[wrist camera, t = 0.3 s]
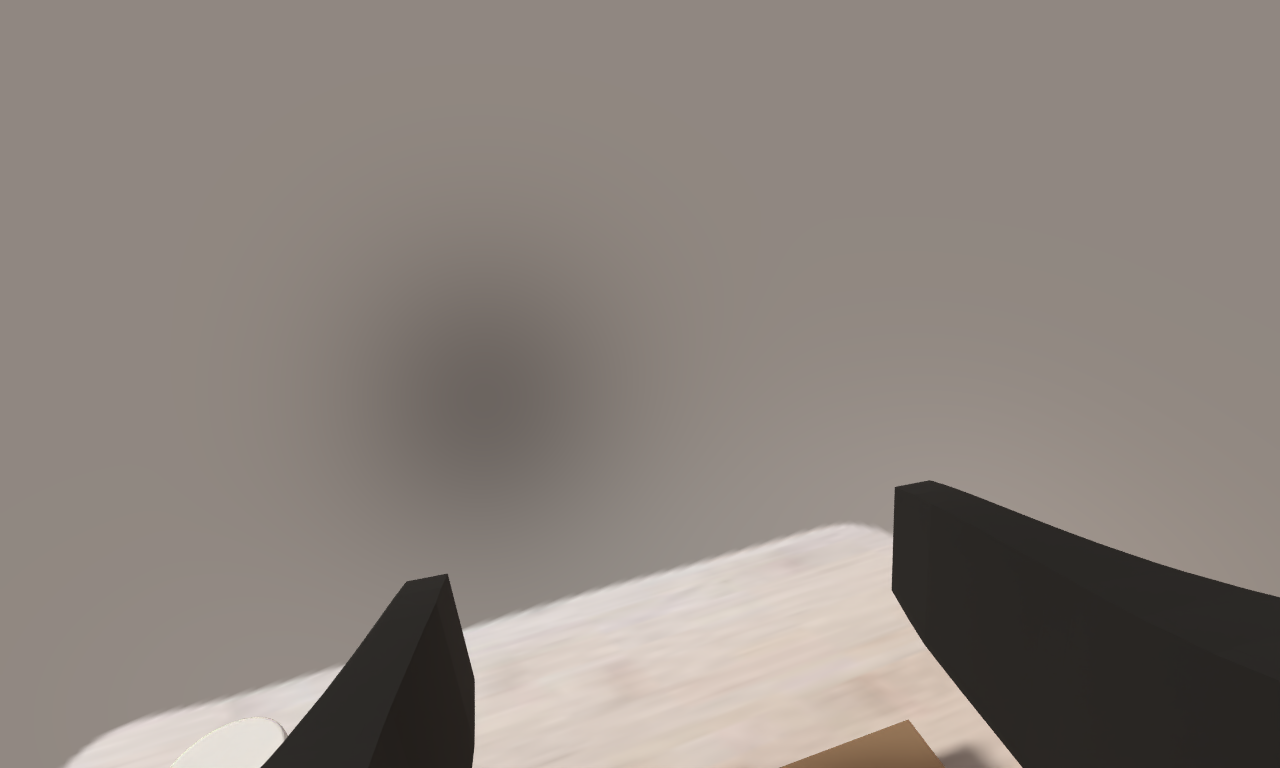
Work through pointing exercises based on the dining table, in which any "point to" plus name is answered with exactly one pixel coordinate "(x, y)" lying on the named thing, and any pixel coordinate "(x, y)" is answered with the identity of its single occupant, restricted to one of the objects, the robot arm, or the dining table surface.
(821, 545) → the dining table surface
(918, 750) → the socket block
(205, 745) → the supplement bottle
